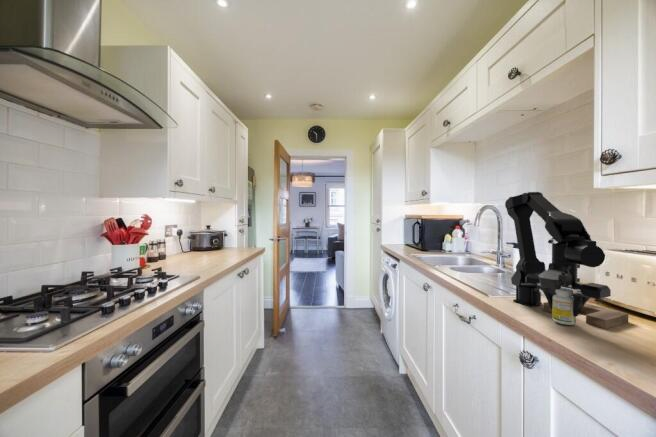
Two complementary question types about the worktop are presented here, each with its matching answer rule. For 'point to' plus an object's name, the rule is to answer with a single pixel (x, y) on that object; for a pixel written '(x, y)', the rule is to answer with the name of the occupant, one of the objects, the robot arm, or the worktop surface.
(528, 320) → the worktop surface
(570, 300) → the supplement bottle
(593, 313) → the notched board
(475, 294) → the worktop surface
